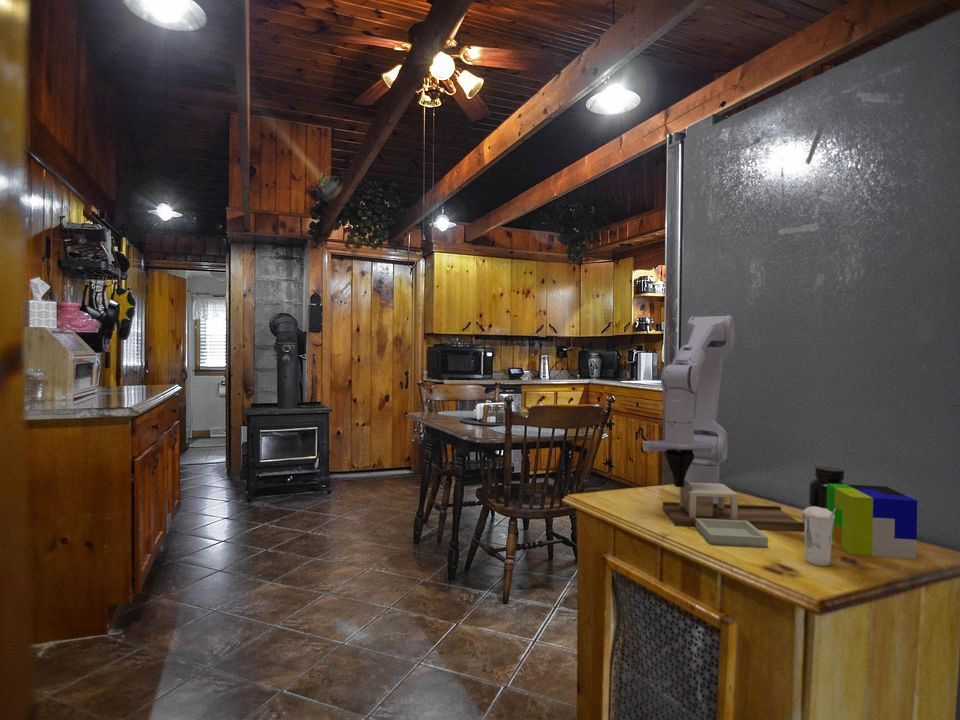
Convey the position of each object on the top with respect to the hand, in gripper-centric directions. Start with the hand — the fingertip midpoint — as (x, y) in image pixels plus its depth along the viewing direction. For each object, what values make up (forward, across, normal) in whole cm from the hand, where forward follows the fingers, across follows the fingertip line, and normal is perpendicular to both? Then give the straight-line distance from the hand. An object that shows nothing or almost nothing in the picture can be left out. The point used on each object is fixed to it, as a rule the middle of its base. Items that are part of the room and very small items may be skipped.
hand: (678, 486), depth 115 cm
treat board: (+7, +10, 0) cm, 12 cm away
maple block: (+6, +4, 0) cm, 7 cm away
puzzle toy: (+7, +30, -13) cm, 34 cm away
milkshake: (+7, +17, -23) cm, 30 cm away
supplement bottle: (+7, +28, -3) cm, 29 cm away
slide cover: (+5, +6, 0) cm, 8 cm away
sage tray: (+7, +7, -12) cm, 15 cm away
